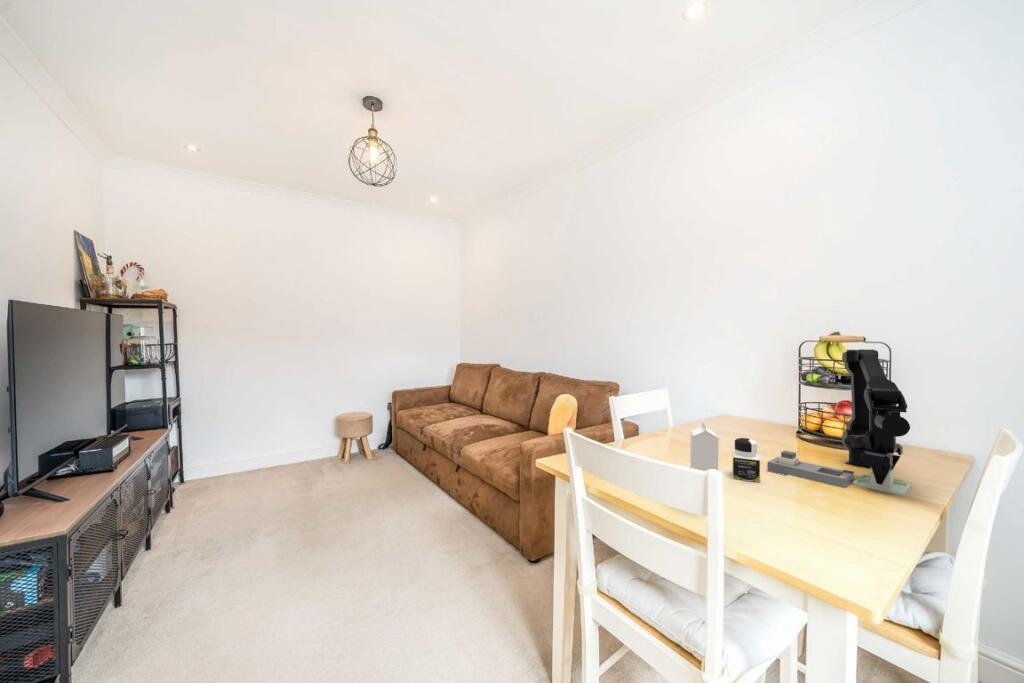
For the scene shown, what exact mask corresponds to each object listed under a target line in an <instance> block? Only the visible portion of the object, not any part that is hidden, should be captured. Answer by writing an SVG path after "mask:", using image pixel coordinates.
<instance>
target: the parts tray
mask: <svg viewBox="0 0 1024 683" xmlns="http://www.w3.org/2000/svg"><path fill="white" fill-rule="evenodd" d="M852 485H854V486H859V487H863V488H868V489H872V490H875V491H880V492H884V493H889V494H893V495H896V496H897V495H898V496H901V497H905V496H906V495H907V494H908V493H909V491H910V490H911V488H912V487H913V484H912V483H908V482H905V481H904V482H903V481H898V480H894V479H893V487H892V488H891V489H887V488H882V487H878V486H873V485H871V474H866V473H861V474H860V475H858V476H857V477H856V478H855V479H854V481H853V482H852Z"/></svg>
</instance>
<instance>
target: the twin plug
mask: <svg viewBox="0 0 1024 683" xmlns="http://www.w3.org/2000/svg"><path fill="white" fill-rule="evenodd" d="M778 457H779V463H781V464H786V465H790V466H795V467H796V466H798V461H799V457H797V452H794V451H789V450H782V451H781V452H780V456H778Z"/></svg>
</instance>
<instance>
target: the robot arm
mask: <svg viewBox="0 0 1024 683" xmlns="http://www.w3.org/2000/svg"><path fill="white" fill-rule="evenodd" d="M841 361H842V363H844V364H843V366H844V369H845V370H846V372H848V374H849V375H850V387H851V388H850V389H851V390H850V392H851V419H850V420H848V422H847V423H846V425H845V426H846V429H844V432H843V434H842V437H841V443H842V445H843V446H844V447H845V448H847V449H848V459H847V461H846V462H844V464H845V465H849V466H850V465H851V466H855V467H859V468H865V469H871V468H872V470H873V473H874V476H875V480H876V483H877V484H881V485H882V483H883V482H884V480H885V478H886V476H887V474H888V473H889V471H890V469H893V470H894V469H895V466H896V465H897V464H898V461H899V460H900V459H901V456H902V454H904V453H903V452H904V449H903V448H904V447H903V446H902V445H901V444H900V443H897V437H903V436H906V435H907V434H908V433H909V432H910V429H911V425H910V422H909V421H908V420H907V418H905V417H903V416H901V413H907V409H908V404H907V401H906V399H905V396H904V395H903V393H902V390H900V389H899V387H898V386H897V384H896V383H895V382H893V381H892V380H889V379H888V378H887V376H886V373H885V370H884V369H883V367H882V364H881V361H880V359H879V352H878V350H877V349H866V348H865V349H847V350H846V351H844V352H842V354H841ZM895 453H897V455H896V454H895Z"/></svg>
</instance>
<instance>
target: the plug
mask: <svg viewBox="0 0 1024 683" xmlns="http://www.w3.org/2000/svg"><path fill="white" fill-rule="evenodd" d="M870 475H871V485H873V486H878V487H882V488H887V489H891V488H892V487H893V480H894V468H893V469H890V471H889V473H888V474H887V476H886V478H885V480H884V482H883V483H882V485H881V484H877V483H876V480H875V476H874V473H873V470H872V467H871V468H870Z"/></svg>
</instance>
